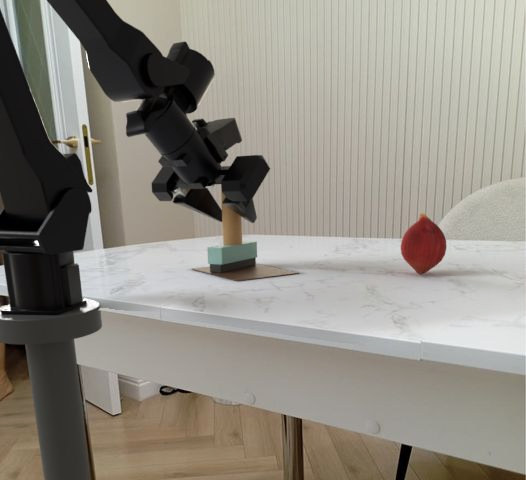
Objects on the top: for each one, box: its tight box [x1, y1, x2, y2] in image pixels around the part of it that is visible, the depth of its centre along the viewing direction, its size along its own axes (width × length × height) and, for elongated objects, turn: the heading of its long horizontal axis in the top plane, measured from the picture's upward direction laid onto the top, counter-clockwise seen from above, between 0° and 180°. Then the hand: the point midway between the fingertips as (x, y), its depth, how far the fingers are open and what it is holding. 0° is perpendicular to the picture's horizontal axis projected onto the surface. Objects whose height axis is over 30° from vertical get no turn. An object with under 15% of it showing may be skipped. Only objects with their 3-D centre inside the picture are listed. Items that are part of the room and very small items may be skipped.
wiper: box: [206, 165, 258, 273], centre depth 86 cm, size 9×3×15 cm, turn 147°
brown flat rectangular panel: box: [191, 263, 300, 282], centre depth 86 cm, size 14×10×1 cm
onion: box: [400, 212, 447, 275], centre depth 78 cm, size 6×6×8 cm
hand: (238, 220), depth 87 cm, fingers open, 6 cm apart
